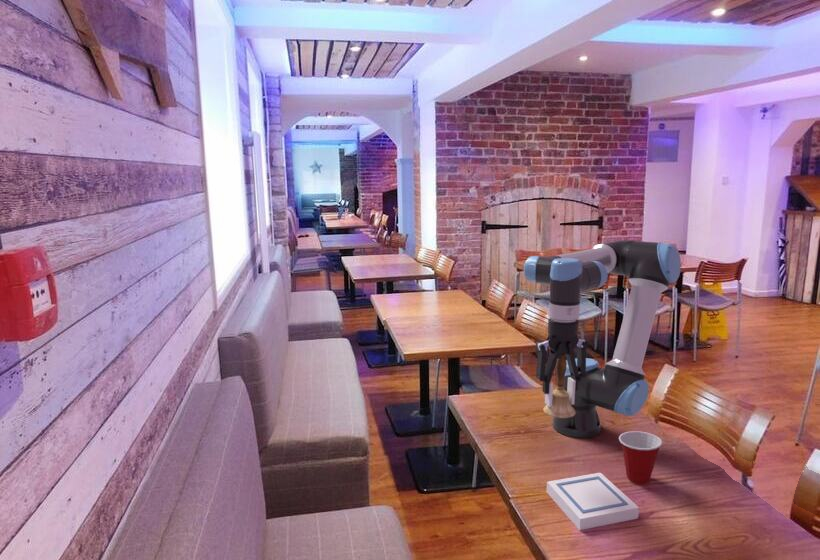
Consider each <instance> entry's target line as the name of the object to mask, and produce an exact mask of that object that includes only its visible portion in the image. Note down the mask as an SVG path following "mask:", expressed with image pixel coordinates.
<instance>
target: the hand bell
mask: <svg viewBox="0 0 820 560" xmlns="http://www.w3.org/2000/svg"><path fill="white" fill-rule="evenodd" d="M566 360H567V358H566V355H565V354H562V355H560V357H559V359H558V360H557V363H556V366H555V369H556V373H557V374H556V375H557V382H556V383H557V384H556V389H553V398H552V407H549V406H548V405H547V404H545V405H544V407H543V413H545V415H548V416H549V417H552V418H553V417H557V418H569V417H572V416H574V415H575V414H576V412H575V410H574V408H573V407H572V406H571V404H570V401H569V394H568V392H567V391H565V390H564V375H565V373H566V368H567V362H566Z"/></svg>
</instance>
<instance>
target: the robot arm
mask: <svg viewBox="0 0 820 560" xmlns="http://www.w3.org/2000/svg"><path fill="white" fill-rule="evenodd" d="M681 261H682V260H681V255H680V252H679V250H678V248H677V247H676V246H675V245H674V244H670V243H665V242H661V241H659V242H653V241H642V240H641V241H640V240H631V239H623V240H615V241H610V242H605V243H599V244H596V245H594V246H593V247H592V248H589V249H584V250H579V251H574V252H567V253H561V254H557V255H556V254H555V255H550V256H549V255H548V256H541V255H531V256H528V258H527V259H526V260H525V262H524V265H523V276H524V277H525V279H526V280H527V281H529V282H533V283H536V284H543V285H549V301H548V302H549V303H548V304H549V305H548V317H549V319H547V320H548V322H547V324H548V325H547V335H548V336H547V338H546V340H545V341H543V342H540V341H538V342H536V344H535V345H536V349H537V358H536V359H537V360H536V369H535V371H536V372H535V378H536V379H538V380H539V381H540V382H542V389H541V390H542V393H543V394H544V404H545V405H548V406H549V407H552V398H553V390H554V382H553V381H552V377H553V375H554V372H555V369H556V364H557V360H558V359H559V357H560V355H562V354H565V359H566V362H567V368H566V373H565V375H564V390H565V391H567V392H568V394H569V401H570V404H571V406H572V407H573V408H574V410H575V412H576V414H575V415H574V416H572V417H569V418H557V417H552V428H553V429H554V430H555V431H556V432H557V433H560V434H562V435H564V436H567V437H571V438H577V439H584V438H585V439H589V438H593V437H596V436H598V435H599V434H600V432H601V426H602V425H601V424H602V423H601V420H600V417H599V414H598V410H597V409H598V408H597V407H599V408H601V409H605V410H608V411H611V412H612V413H613V412H614V413H615V414H619V415H624V416H628V417H632V416H633V417H634V416H635V415H637V414H638V413H640V411H641V410H642V409H643V407H644V406H645V404H646V402H647V400H648V397H649V393H650V384H649V383H648V382H647V380H646V379H645V377H646V373H645V372H644V371H643V368H642V367H643V363H644V360H645V356H646V352H647V348H648V345H649V340H650V337H651V334H652V333H651V332H652V329H653V325H654V321H655V317H656V314H657V310H658V306H659V302H660V299H661V294H662V293H663V292H665V291H667V290H668V289H669V287H670V284H672V283H673V284H674V283H676V282H677V281H678V279H679V278H680V274H681V269H682V268H681V267H682V266H681V265H682V262H681ZM609 274H613V275H619V276H626V277H628V283H629V284H630V285H631V288H630V292H629V294H628V295H629V297H628V298H627V299H628V301H627V304H626V307H625V311H624V314H623V318H622V322H621V326H620V330H619V332H618V333H619V334H618V336H617V340H616V345H615V348H614V351H613V356H612V359H611V360H609V361H608V362H606V363H605V365H604V368H600V364H599V361H598V360H596V359H594V358H587V348H588V346H589V342H588V341H587V340H585V339H584V338H579V336H578V334H579V327H580V326H579V325H580V323H579V322H580V321H579V320H578V319H579V318H580V304H581V294H582V293H585V292H589V291H590V292H591V291H594V290H595V291H596V290H597V289H598V288H601V287H603V286H604V285H605V284H606V282H607V280H608V276H609ZM576 346H577V348H576V354H575V347H576ZM548 348H549V352H548V359H547V351H548ZM575 357H576V358H575Z"/></svg>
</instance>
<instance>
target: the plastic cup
mask: <svg viewBox="0 0 820 560" xmlns="http://www.w3.org/2000/svg"><path fill="white" fill-rule="evenodd" d="M618 441H619V442H620V443H621V446H622V451H623V460H624V461H623V462H624V466H625V473H626V477H627V480H629V481H630V482H632V483H633V484H635V485H636V484H637V485H646V484H648V483H650V480H651V476H652V473H653V471H654V467H655V463H656V461H657V456H658V453H659V449H660V448H661V446H662V445H663V444H662V443H663V440H662V439H661V438H660V437H658V436H657V435H655V434H653V433H650V432H645V431H639V430H638V431H636V430H635V431H634V430H631V431H626V432H625V431H624V432H623V433H621V434H620V435H619V436H618Z"/></svg>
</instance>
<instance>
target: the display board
mask: <svg viewBox="0 0 820 560" xmlns="http://www.w3.org/2000/svg"><path fill="white" fill-rule="evenodd" d="M546 493H547V494H548V495H549V496H550V497H551V499H552V500H553V501H554V503H555V504H556V505H557V506H558V507H559V508H560V510H561V511H562V512H563V513H564V514H565V515H566V516H567V517H568V518H569V520H570V521H571V522H572V524H574V525H575V527H576V528H577V529H578V530H579V531H583V530H587V529H592V528H598V527H603V526H609V525H613V524H618V523H623V522H627V521H633V520H636V519H638V520H639V514H640V513H639V511H640V508H639V506H638V505H637V504H635V503H634V501H633V500H631V499H630V498H629V497H628V496H627V495H626V494H625V493H623V492H622V490H620V489H619V488H618V487H617V486H616V485H614V483H613V482H612V481H610V480H609V479H608V478H607V477H606V476H605V475H604V474H603V473H601V472H595V473H590V474H584V475H578V476H572V477H567V478H561V479H560V478H559V479H554V480H549V481H547V482H546Z"/></svg>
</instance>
